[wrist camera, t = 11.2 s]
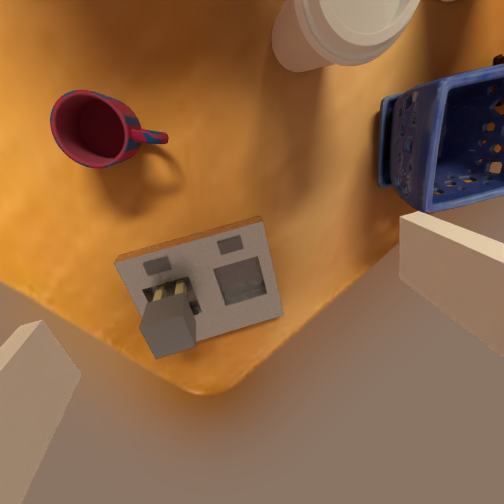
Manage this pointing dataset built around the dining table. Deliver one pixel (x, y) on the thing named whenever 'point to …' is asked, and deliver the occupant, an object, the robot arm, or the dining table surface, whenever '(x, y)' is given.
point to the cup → (98, 129)
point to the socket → (210, 276)
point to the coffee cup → (337, 31)
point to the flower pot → (443, 141)
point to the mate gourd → (497, 61)
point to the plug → (169, 322)
